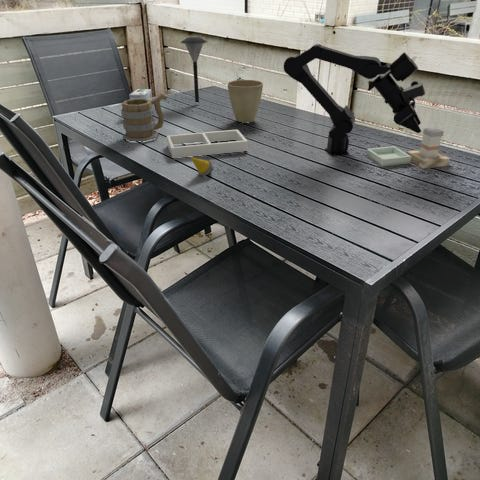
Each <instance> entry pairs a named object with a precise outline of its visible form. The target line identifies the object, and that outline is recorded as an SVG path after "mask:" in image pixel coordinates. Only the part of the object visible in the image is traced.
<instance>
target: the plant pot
mask: <svg viewBox="0 0 480 480" xmlns="http://www.w3.org/2000/svg"><path fill="white" fill-rule="evenodd" d="M263 88H264V82H263V81H260V80H254V79H237V80H231V81H228V82H227V91H228V96H229V100H230V104H231V108H232V111H233V114H234V115H233V116H234V117H235V120H236V122H237V121H239V122H243V123H247V122H252V123H254V122H255V119H256V116H257V114H258V111H259V107H260V104H261V98H262V95H263V94H262V93H263ZM253 121H254V122H253ZM243 123H242V124H243Z"/></svg>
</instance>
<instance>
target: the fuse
mask: <svg viewBox="0 0 480 480" xmlns="http://www.w3.org/2000/svg"><path fill="white" fill-rule="evenodd" d="M422 133H423V136H422V139H421V143H420V149H419V150H420V153H419V155H420V156H422V157H424V158H425V159H428V158H436V157H437V154H438V152H439V150H440V145H441V142H442V137H443V136H444V133H445V131H444V130H442V129H440V128H437V127H427V128H426V127H425V128H423V131H422Z"/></svg>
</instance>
